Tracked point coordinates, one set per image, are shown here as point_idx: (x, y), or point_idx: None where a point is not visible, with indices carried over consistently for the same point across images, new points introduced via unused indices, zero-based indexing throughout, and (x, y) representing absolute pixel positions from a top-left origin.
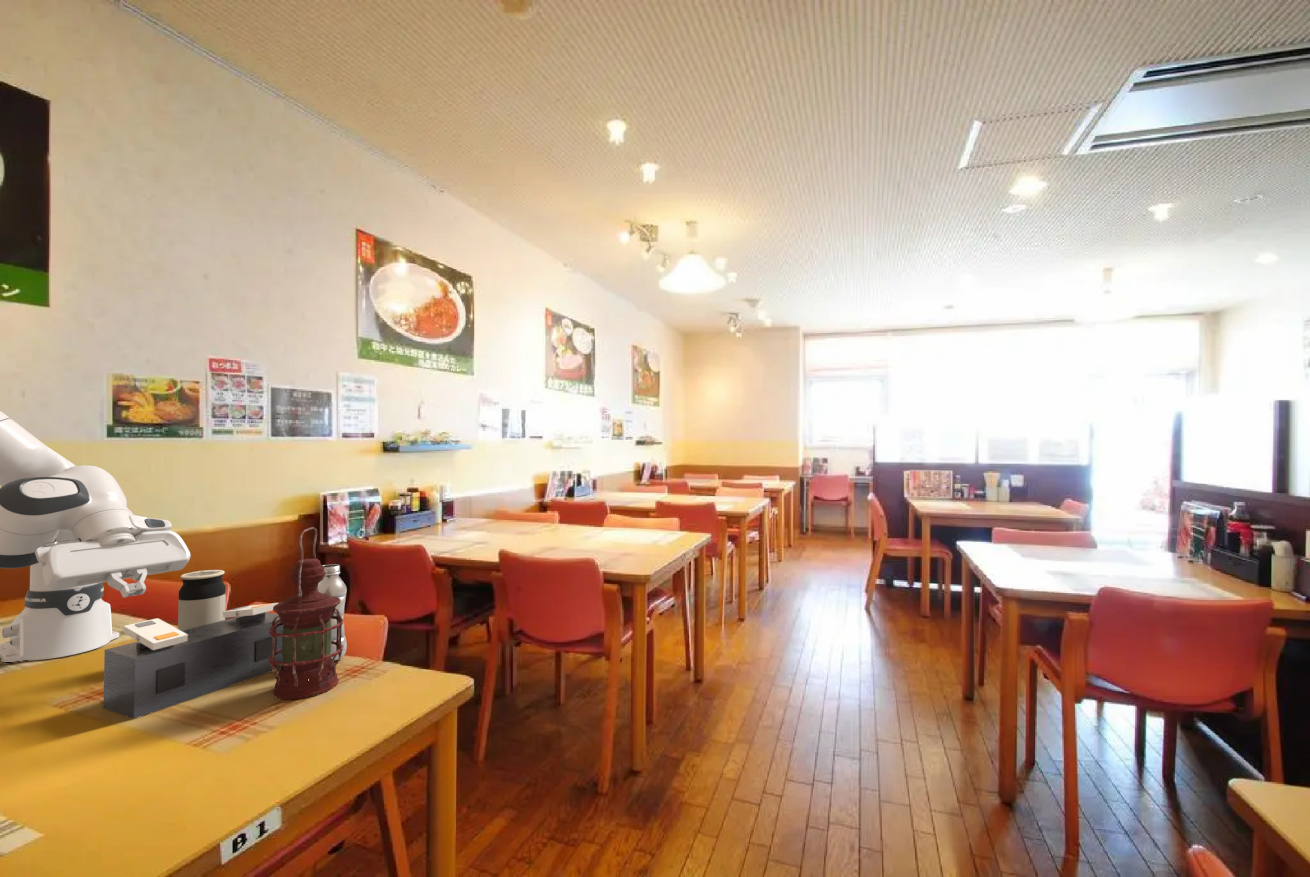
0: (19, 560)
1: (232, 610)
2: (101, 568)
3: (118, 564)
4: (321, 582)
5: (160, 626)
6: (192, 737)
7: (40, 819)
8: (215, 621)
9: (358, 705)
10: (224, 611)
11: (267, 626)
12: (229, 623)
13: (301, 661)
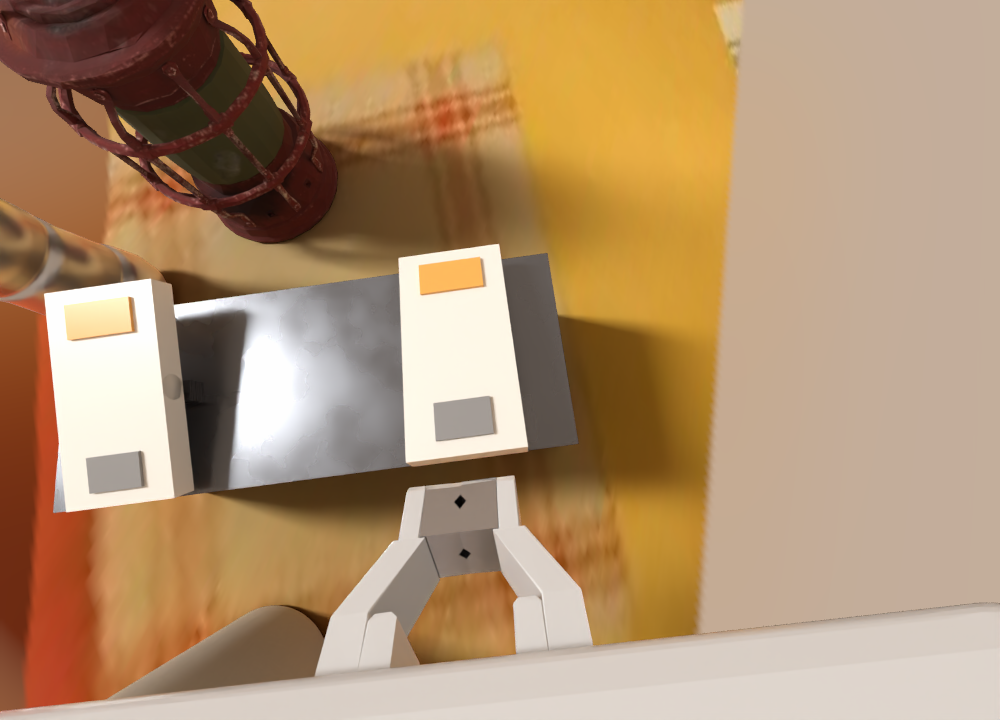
0: None
1: (154, 451)
2: (694, 674)
3: (535, 717)
4: None
5: (432, 369)
6: (503, 136)
7: (712, 47)
8: (170, 663)
9: (285, 34)
10: None
11: None
12: (215, 419)
13: (275, 65)
